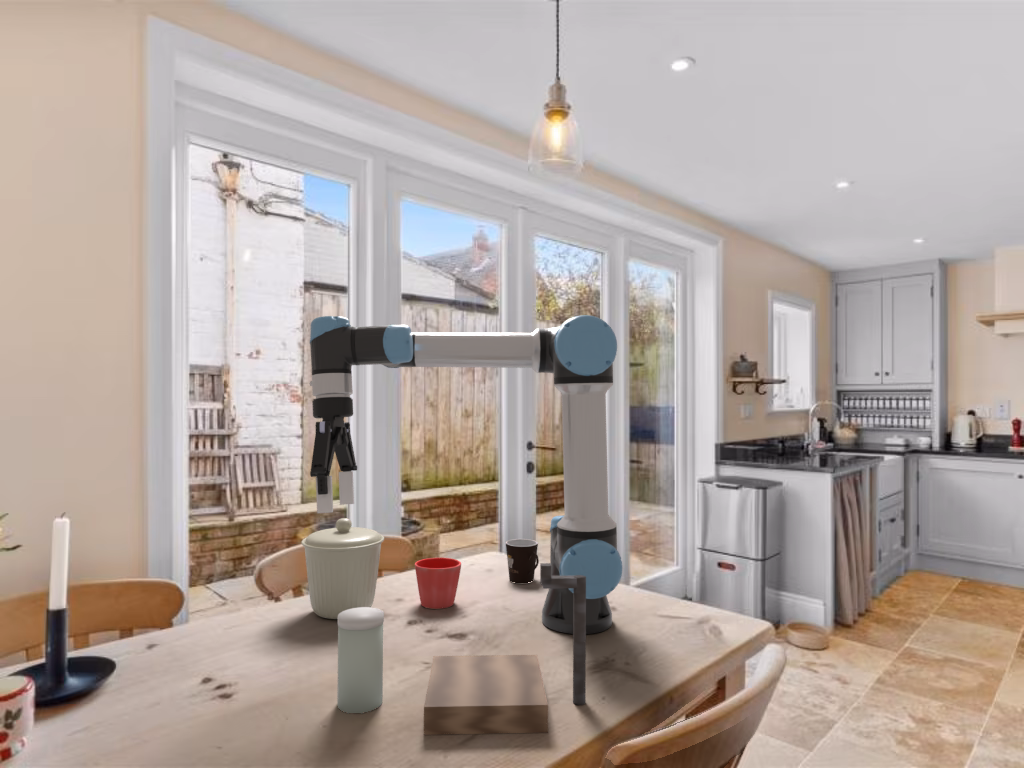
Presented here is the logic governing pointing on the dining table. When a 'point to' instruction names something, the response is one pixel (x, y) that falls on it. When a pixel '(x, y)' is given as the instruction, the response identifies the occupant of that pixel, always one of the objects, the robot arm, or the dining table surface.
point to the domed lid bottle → (360, 659)
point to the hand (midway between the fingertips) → (336, 508)
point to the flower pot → (437, 581)
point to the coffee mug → (522, 559)
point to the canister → (342, 568)
